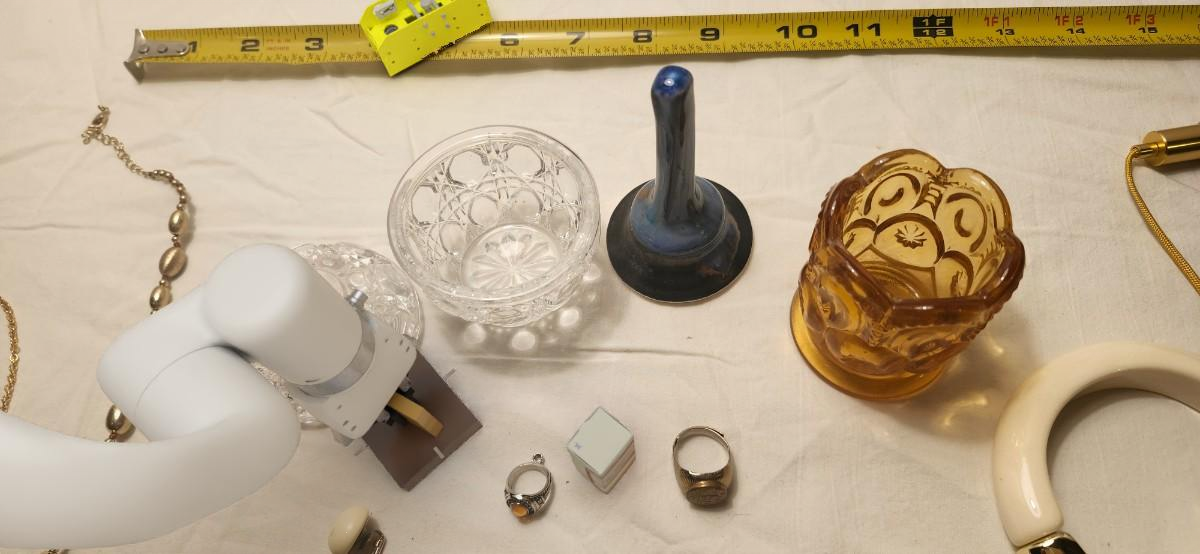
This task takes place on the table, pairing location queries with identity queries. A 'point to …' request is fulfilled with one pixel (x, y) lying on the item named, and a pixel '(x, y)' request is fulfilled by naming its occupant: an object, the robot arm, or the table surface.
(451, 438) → the stand
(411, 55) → the yellow toy chassis
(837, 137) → the table surface
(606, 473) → the pale grey box
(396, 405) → the yellow angled block
